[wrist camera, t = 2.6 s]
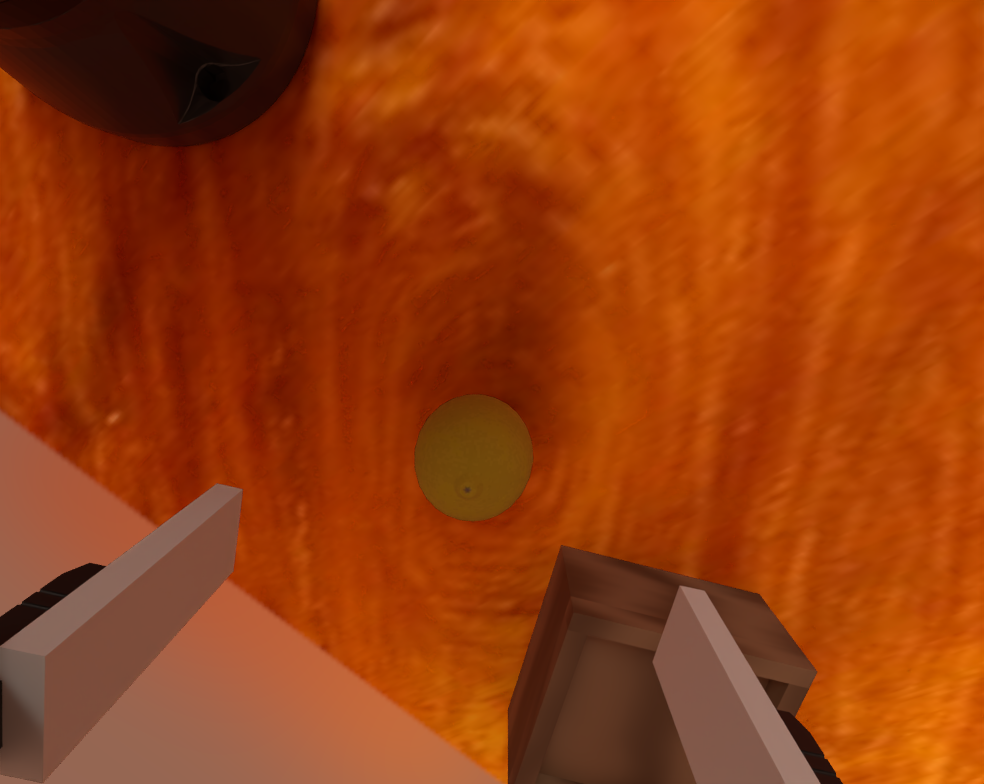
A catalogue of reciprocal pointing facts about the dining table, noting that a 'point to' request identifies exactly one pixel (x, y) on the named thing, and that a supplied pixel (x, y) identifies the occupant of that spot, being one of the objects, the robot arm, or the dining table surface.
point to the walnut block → (624, 673)
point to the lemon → (473, 457)
